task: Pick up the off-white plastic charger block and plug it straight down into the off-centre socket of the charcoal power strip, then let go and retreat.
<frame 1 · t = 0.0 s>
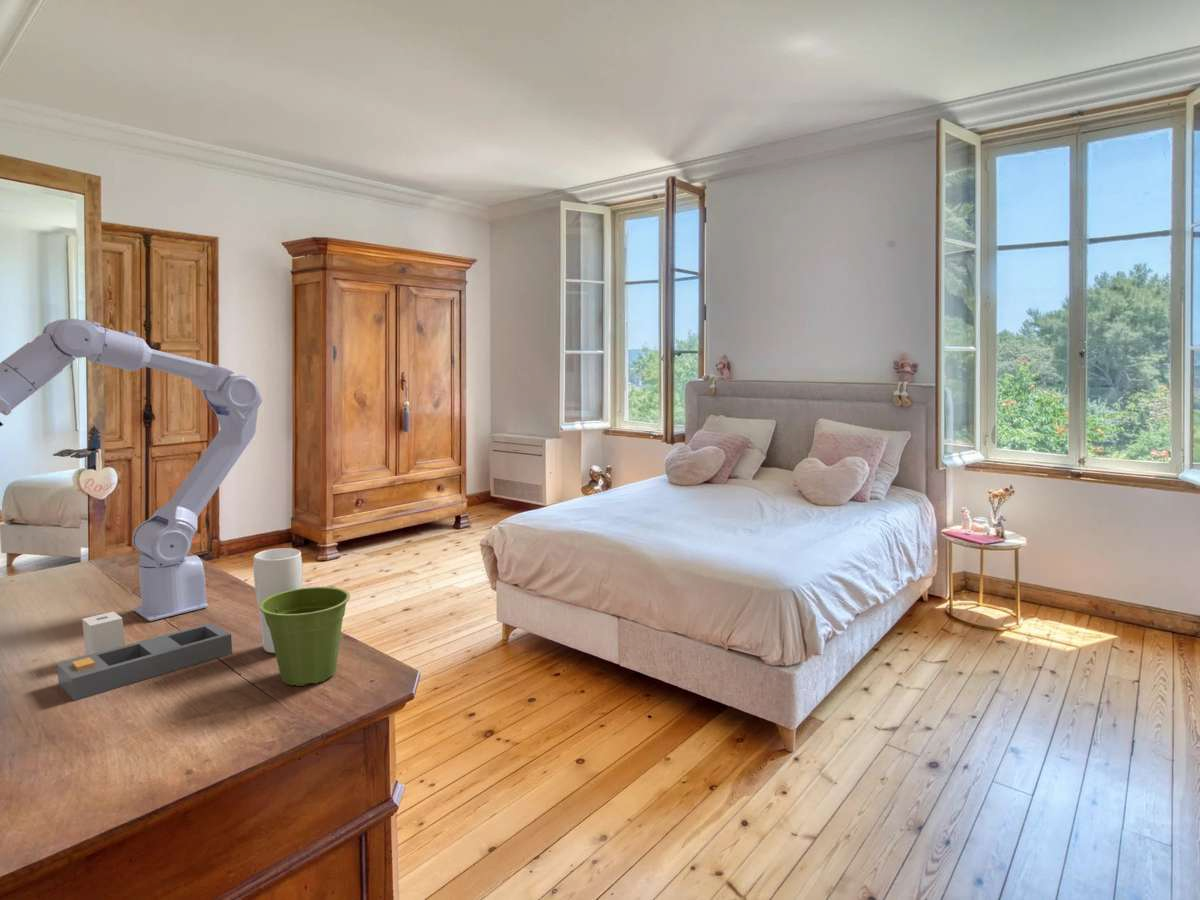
white tall hollow cylinder: (282, 648, 111), on the dresser
plant pot: (308, 676, 102), on the dresser
power strip: (149, 667, 103), on the dresser
charger: (105, 656, 107), on the dresser
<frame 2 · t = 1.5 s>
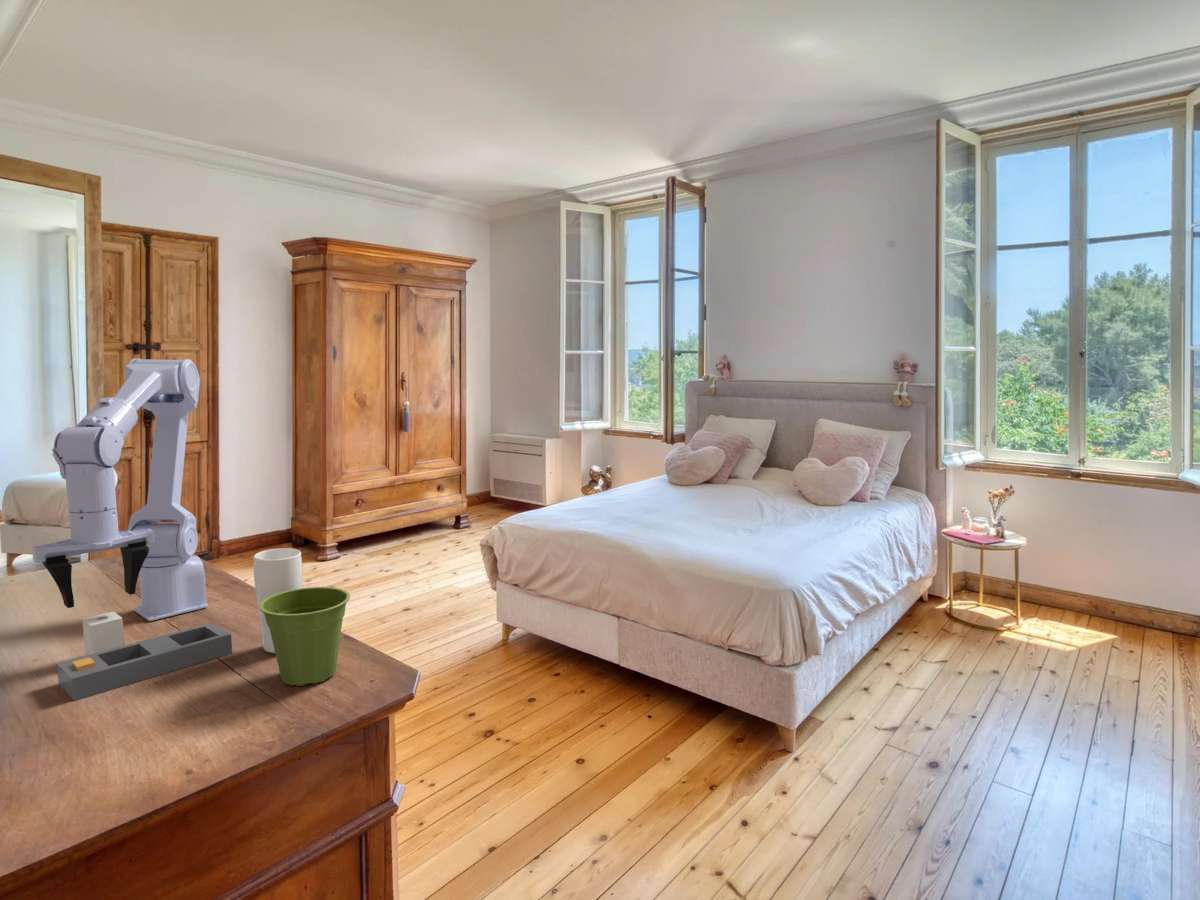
hand: (100, 599, 105), 9 cm above the dresser, tool pointing down, fingers open, 7 cm apart
nothing on the dresser moved.
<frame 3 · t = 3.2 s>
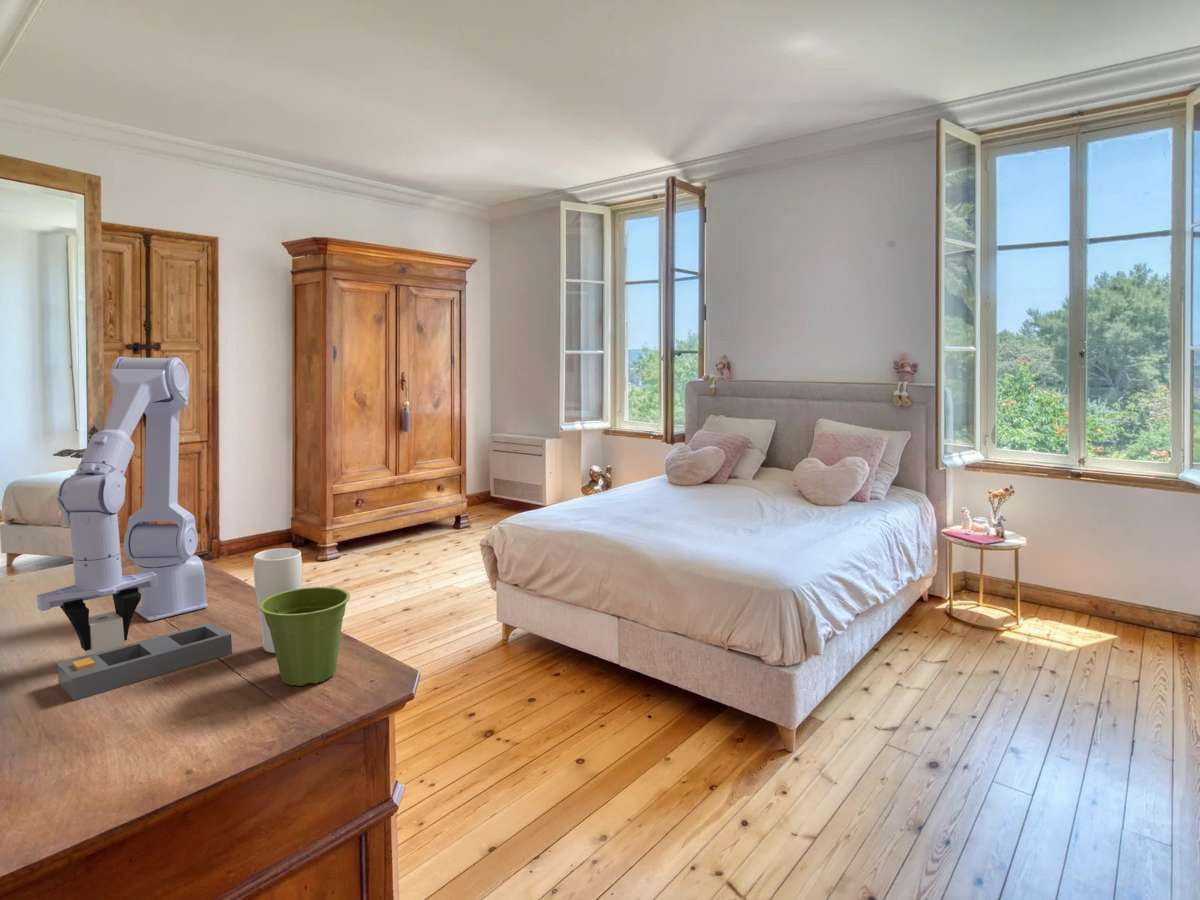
hand: (104, 643, 106), 2 cm above the dresser, tool pointing down, fingers closed on charger, 4 cm apart
charger: (105, 656, 107), on the dresser, touching gripper
everything else where it was.
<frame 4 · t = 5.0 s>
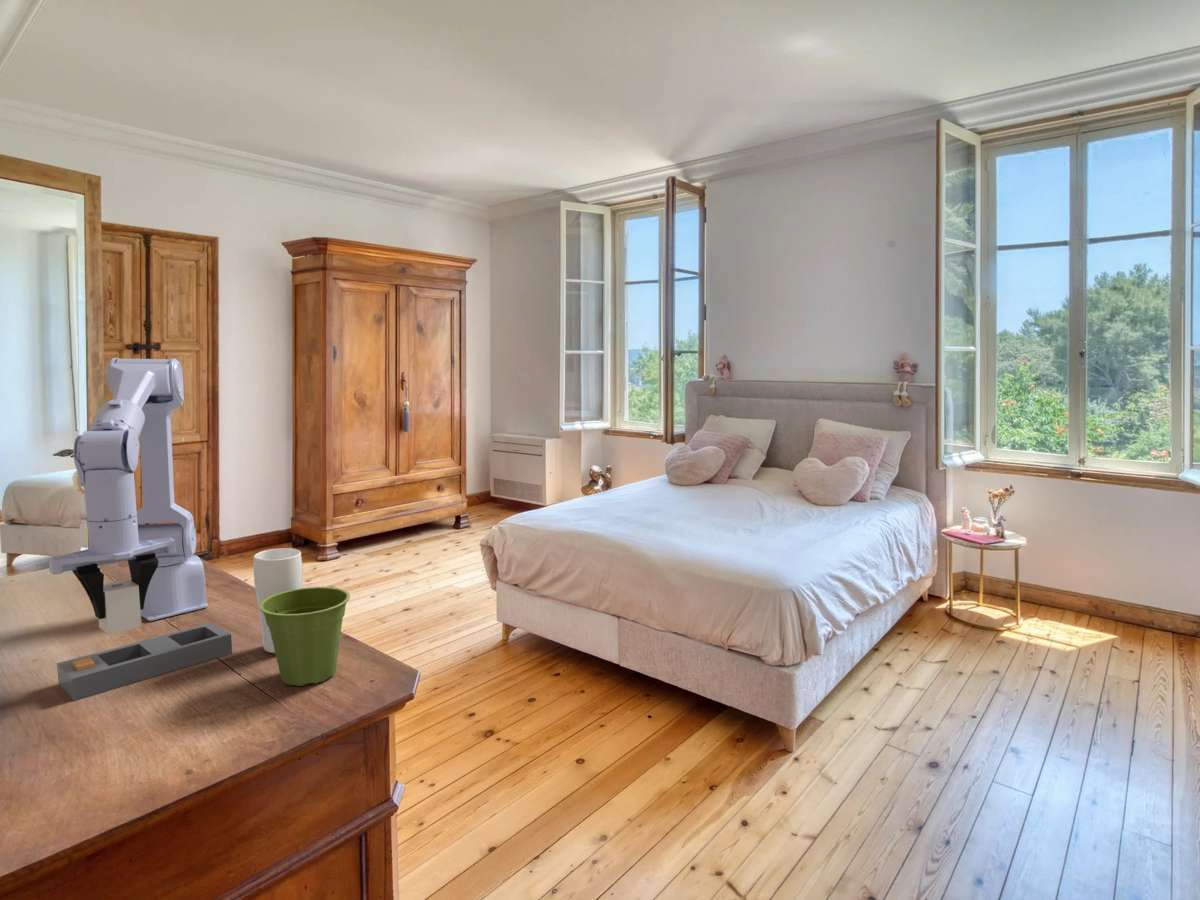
hand: (119, 612, 100), 9 cm above the dresser, tool pointing down, fingers closed on charger, 4 cm apart
charger: (120, 626, 100), point 7 cm above the dresser, touching gripper
everything else where it was.
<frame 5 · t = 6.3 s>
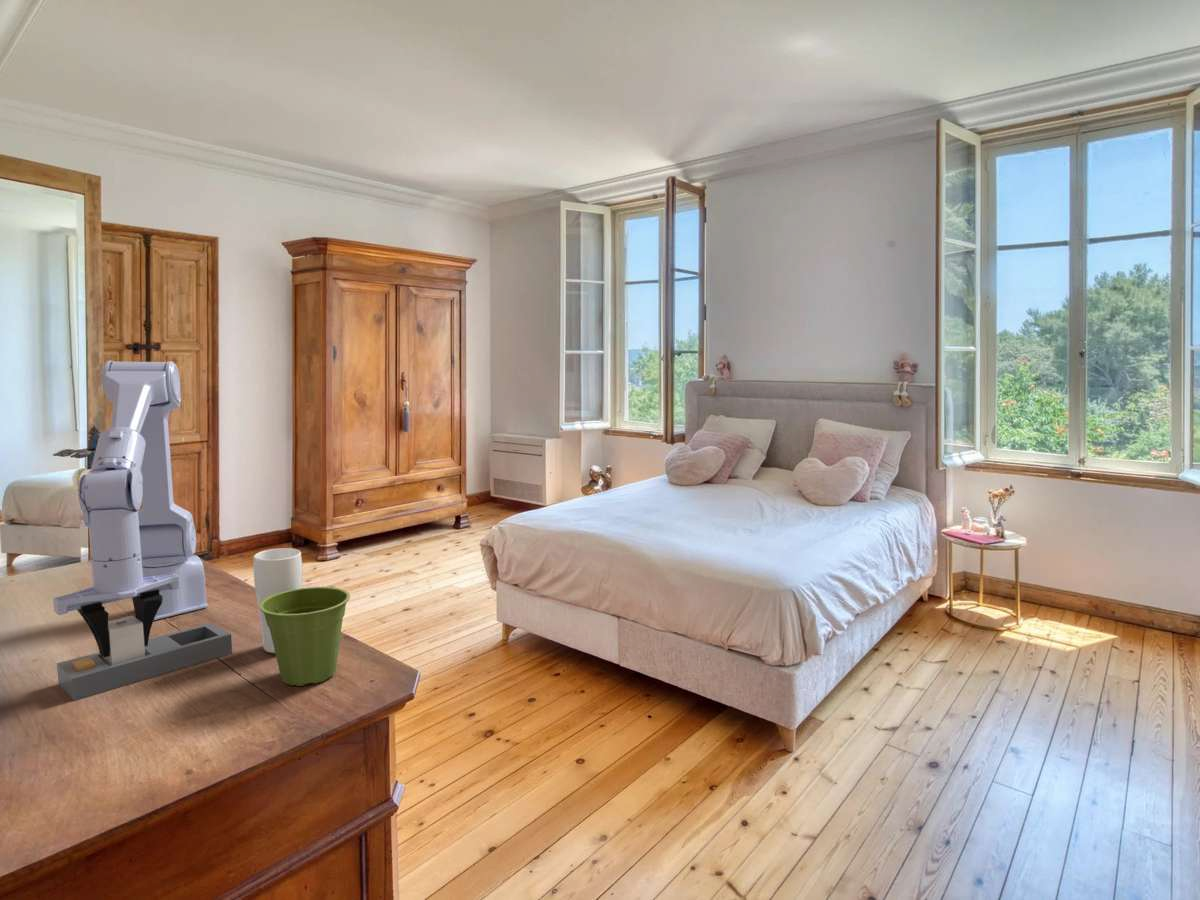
hand: (124, 649, 100), 4 cm above the dresser, tool pointing down, fingers closed on charger, 4 cm apart
charger: (124, 663, 101), point 2 cm above the dresser, touching gripper
everything else where it was.
when the fingers open (4 cm above the dresser, at t = 7.2 s): charger stays where it is, resting on power strip.
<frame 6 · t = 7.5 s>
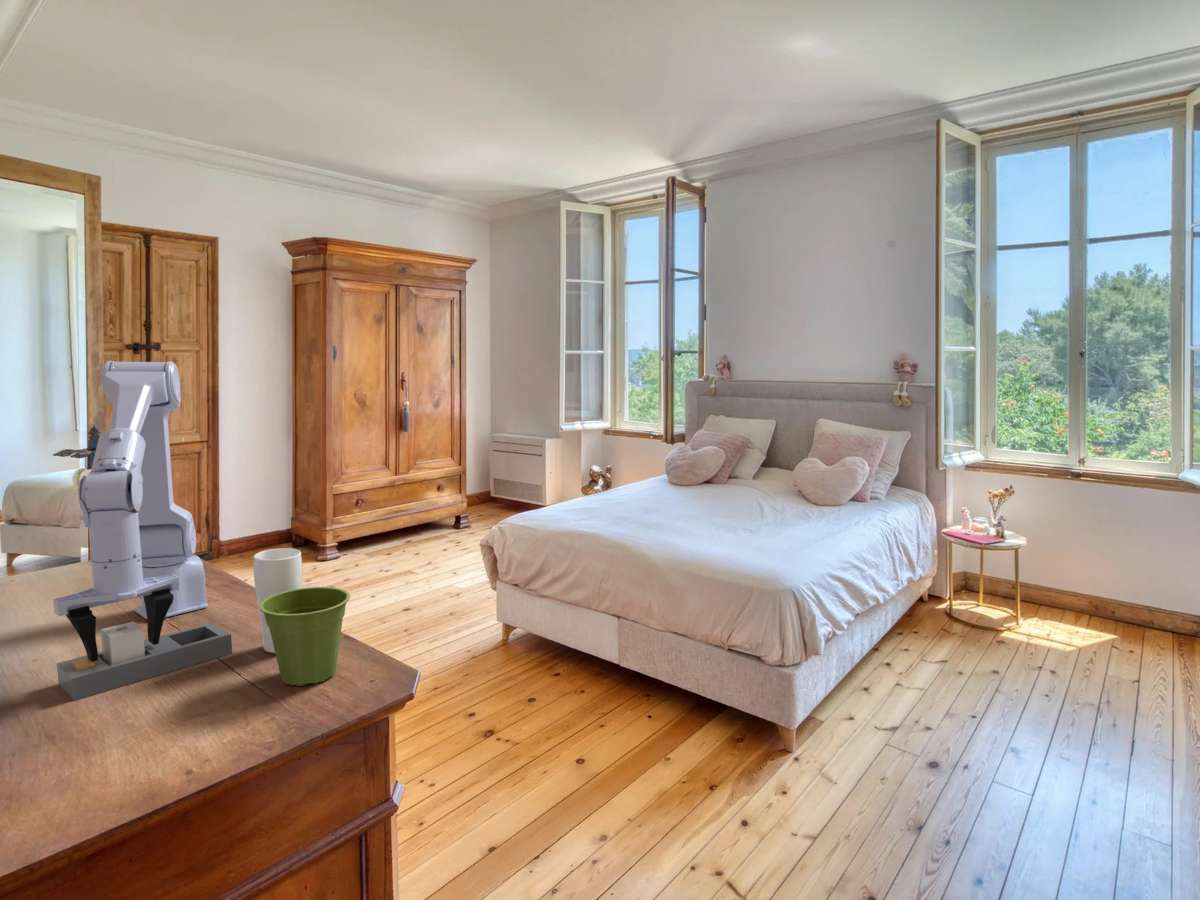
hand: (124, 650, 100), 4 cm above the dresser, tool pointing down, fingers open, 7 cm apart
charger: (125, 669, 101), point 1 cm above the dresser, touching power strip
everything else where it was.
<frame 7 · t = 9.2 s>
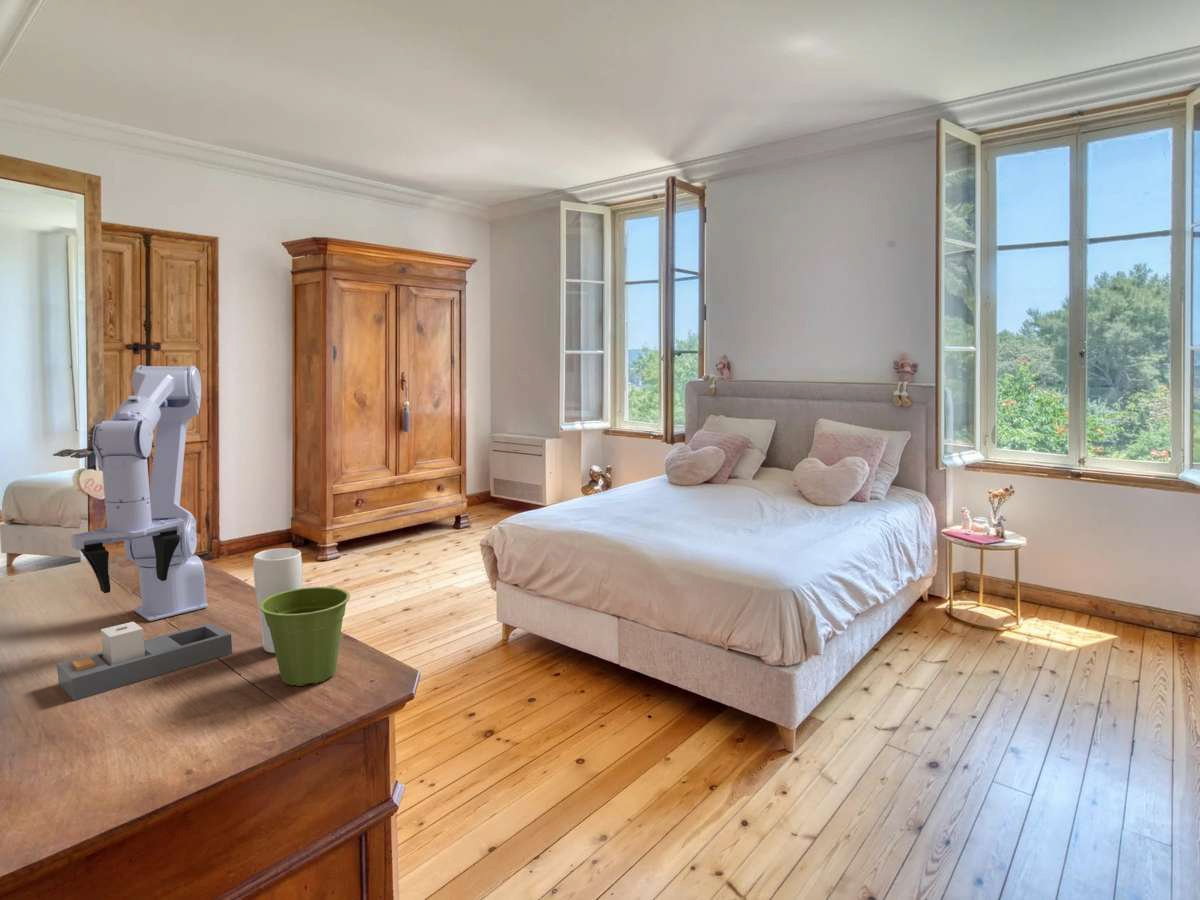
hand: (134, 585, 110), 9 cm above the dresser, tool pointing down, fingers open, 7 cm apart
nothing on the dresser moved.
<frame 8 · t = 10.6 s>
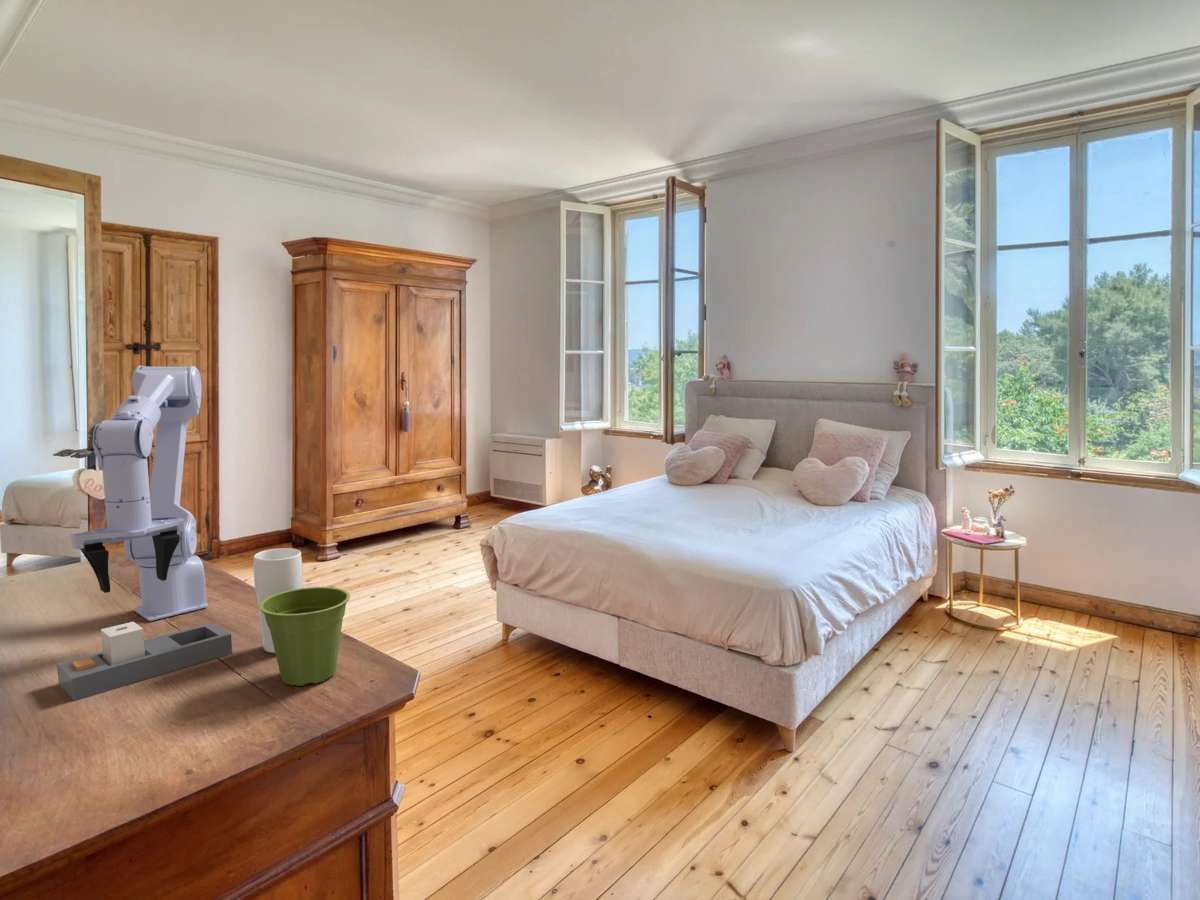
hand: (134, 584, 110), 9 cm above the dresser, tool pointing down, fingers open, 7 cm apart
nothing on the dresser moved.
at the end: charger 0.2 cm from the target spot on the power strip, point 0.7 cm above the power strip's base; charger tilted 0°; the gripper is holding nothing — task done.
